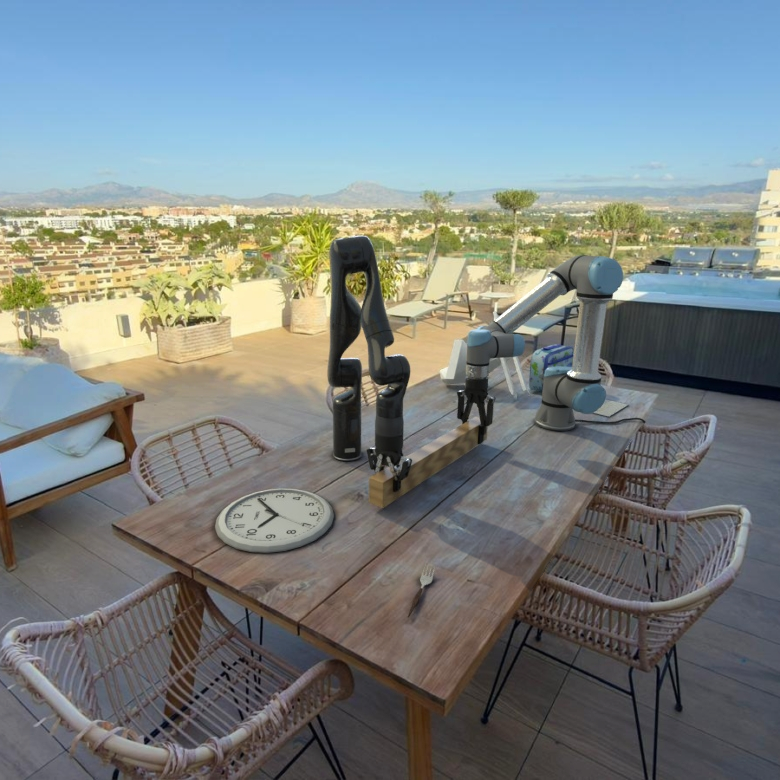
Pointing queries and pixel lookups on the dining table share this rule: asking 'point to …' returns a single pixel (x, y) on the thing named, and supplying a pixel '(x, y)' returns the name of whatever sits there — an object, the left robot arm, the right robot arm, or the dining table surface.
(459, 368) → the white plastic object
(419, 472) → the post
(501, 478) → the dining table surface
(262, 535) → the wall clock
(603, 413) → the invitation card
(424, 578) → the fork
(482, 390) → the right robot arm
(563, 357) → the lunch box
